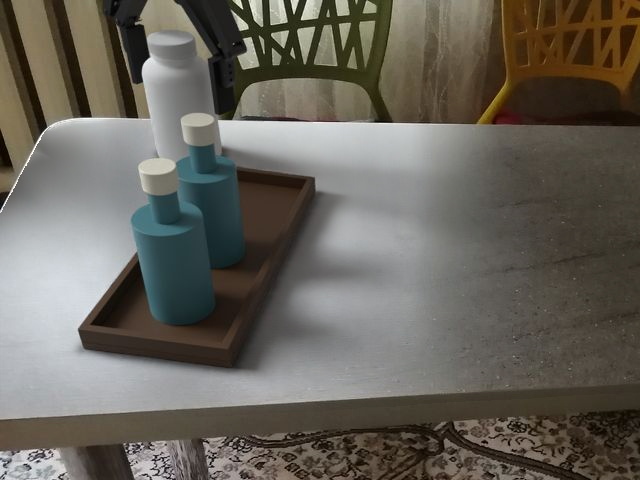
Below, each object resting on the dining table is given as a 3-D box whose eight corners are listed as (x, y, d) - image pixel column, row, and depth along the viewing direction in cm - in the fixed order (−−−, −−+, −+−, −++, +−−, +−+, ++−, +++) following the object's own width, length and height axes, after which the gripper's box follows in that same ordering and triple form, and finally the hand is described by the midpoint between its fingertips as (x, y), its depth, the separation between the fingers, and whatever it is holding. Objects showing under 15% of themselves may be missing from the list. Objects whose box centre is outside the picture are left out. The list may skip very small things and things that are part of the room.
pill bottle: (146, 150, 96) (123, 31, 87) (203, 136, 101) (188, 21, 91) (175, 176, 92) (154, 53, 82) (234, 160, 97) (220, 42, 87)
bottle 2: (235, 272, 77) (218, 137, 68) (178, 264, 77) (153, 128, 68) (252, 241, 82) (239, 110, 72) (198, 234, 82) (178, 102, 72)
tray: (231, 368, 68) (228, 349, 66) (83, 348, 68) (77, 329, 66) (315, 193, 93) (315, 176, 91) (207, 179, 93) (204, 162, 91)
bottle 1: (203, 329, 70) (179, 187, 60) (140, 321, 70) (106, 178, 60) (224, 292, 75) (205, 154, 65) (164, 284, 75) (136, 145, 65)
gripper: (268, -85, 76) (283, 114, 90) (96, -128, 84) (134, 60, 98) (215, -74, 71) (239, 135, 85) (37, -122, 79) (86, 77, 93)
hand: (183, 95), depth 91 cm, fingers open, 13 cm apart
